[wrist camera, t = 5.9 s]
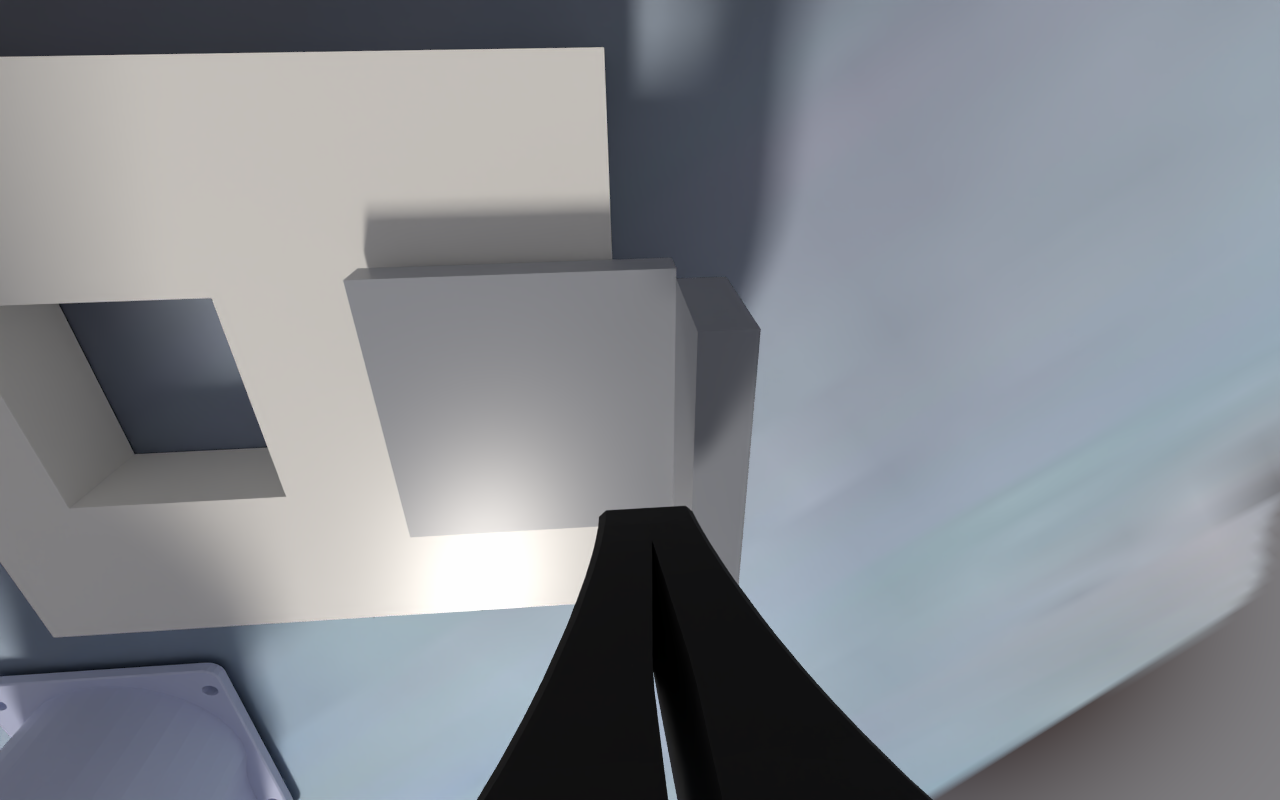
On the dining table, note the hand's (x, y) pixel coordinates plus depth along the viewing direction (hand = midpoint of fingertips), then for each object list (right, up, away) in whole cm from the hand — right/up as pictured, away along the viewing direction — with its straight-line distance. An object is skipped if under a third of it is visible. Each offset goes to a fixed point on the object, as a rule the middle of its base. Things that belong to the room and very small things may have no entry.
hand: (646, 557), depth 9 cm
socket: (-9, +3, +6) cm, 11 cm away
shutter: (-2, +3, +4) cm, 6 cm away
